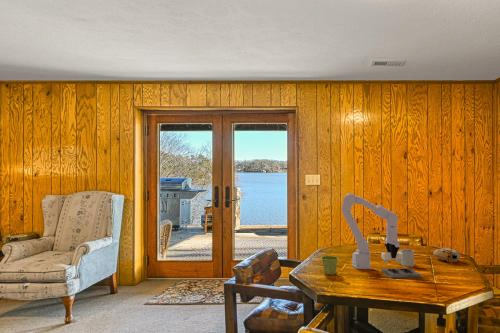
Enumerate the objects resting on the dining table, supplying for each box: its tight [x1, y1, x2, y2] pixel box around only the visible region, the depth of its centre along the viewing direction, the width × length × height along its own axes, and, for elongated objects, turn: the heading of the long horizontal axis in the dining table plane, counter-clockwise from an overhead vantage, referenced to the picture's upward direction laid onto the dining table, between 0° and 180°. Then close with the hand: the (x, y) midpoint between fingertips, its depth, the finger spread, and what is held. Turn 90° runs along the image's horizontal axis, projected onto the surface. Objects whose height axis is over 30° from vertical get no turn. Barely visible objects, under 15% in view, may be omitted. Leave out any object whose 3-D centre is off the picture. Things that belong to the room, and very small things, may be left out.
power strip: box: [380, 251, 403, 263], centre depth 195 cm, size 11×4×5 cm, turn 92°
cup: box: [398, 248, 415, 268], centre depth 204 cm, size 7×10×9 cm
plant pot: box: [320, 255, 339, 276], centre depth 187 cm, size 9×9×9 cm
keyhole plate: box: [381, 267, 422, 279], centre depth 185 cm, size 16×12×2 cm
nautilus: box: [432, 247, 461, 265], centre depth 211 cm, size 8×21×15 cm
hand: (392, 257), depth 195 cm, fingers closed on power strip, 4 cm apart
